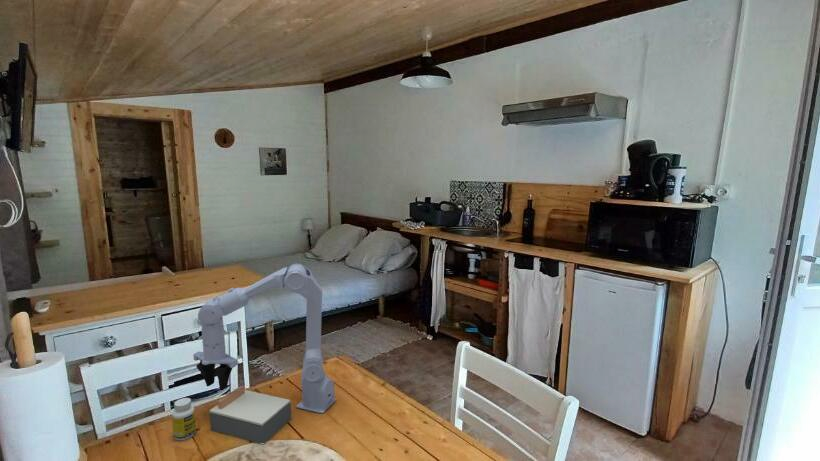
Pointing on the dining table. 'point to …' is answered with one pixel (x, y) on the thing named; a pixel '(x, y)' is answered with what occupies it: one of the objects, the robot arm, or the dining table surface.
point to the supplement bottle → (183, 419)
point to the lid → (249, 406)
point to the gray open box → (251, 426)
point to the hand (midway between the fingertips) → (217, 386)
